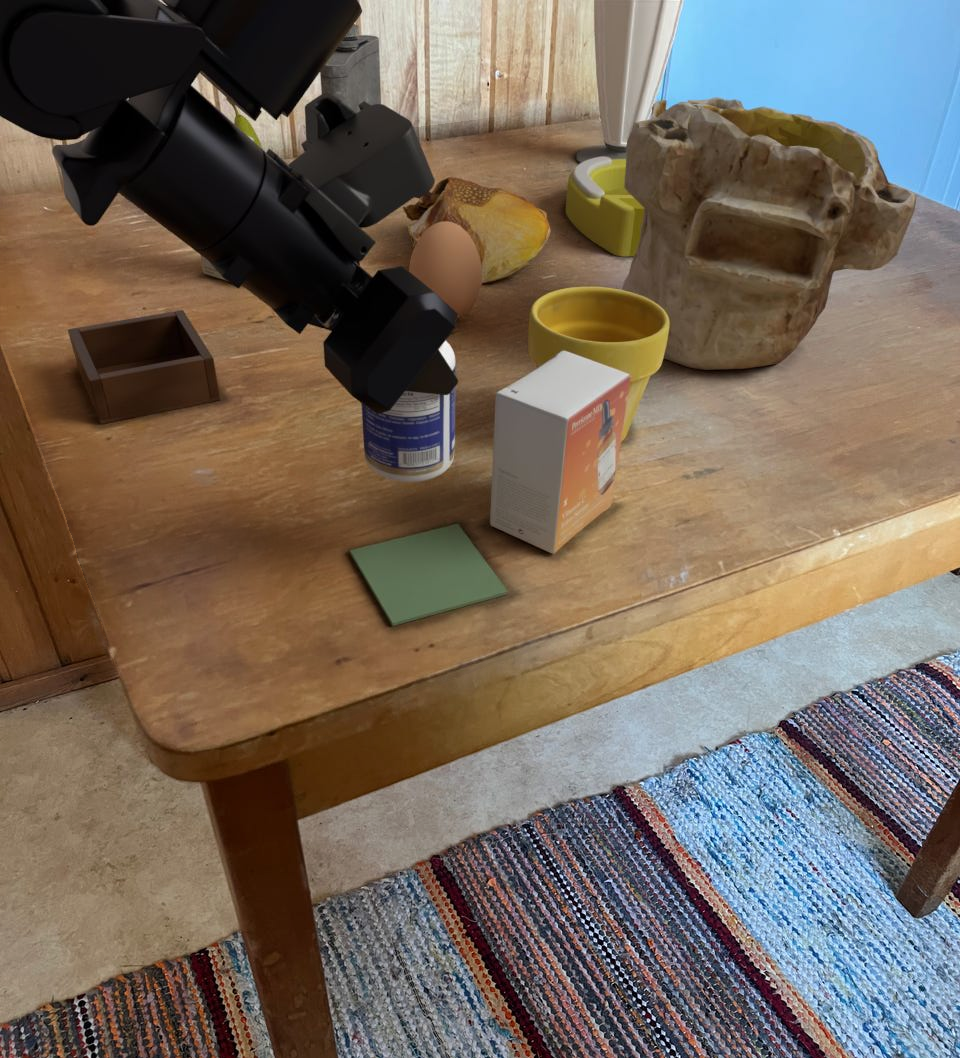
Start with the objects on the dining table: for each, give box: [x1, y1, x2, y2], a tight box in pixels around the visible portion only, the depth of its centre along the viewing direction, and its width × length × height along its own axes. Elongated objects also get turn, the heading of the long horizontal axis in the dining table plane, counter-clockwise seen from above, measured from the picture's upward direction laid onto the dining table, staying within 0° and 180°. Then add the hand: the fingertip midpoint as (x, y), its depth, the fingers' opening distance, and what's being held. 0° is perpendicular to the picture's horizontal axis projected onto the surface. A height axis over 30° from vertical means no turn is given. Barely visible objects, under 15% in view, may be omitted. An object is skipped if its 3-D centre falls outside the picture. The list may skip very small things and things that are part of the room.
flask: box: [319, 23, 382, 113], centre depth 109 cm, size 4×14×18 cm, turn 168°
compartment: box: [67, 309, 221, 425], centre depth 81 cm, size 10×10×4 cm
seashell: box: [402, 176, 551, 284], centre depth 104 cm, size 17×8×15 cm
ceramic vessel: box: [621, 96, 917, 371], centre depth 84 cm, size 23×24×25 cm
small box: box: [489, 351, 631, 555], centre depth 67 cm, size 8×6×10 cm
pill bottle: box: [360, 340, 457, 483], centre depth 59 cm, size 6×6×10 cm
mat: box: [349, 523, 508, 627], centre depth 65 cm, size 8×8×1 cm
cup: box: [576, 0, 685, 164], centre depth 122 cm, size 12×12×22 cm
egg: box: [408, 221, 483, 320], centre depth 90 cm, size 7×7×9 cm
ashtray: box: [565, 156, 644, 257], centre depth 112 cm, size 16×21×5 cm
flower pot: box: [527, 286, 670, 443], centre depth 76 cm, size 10×10×10 cm
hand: (428, 365), depth 59 cm, fingers closed on pill bottle, 6 cm apart
